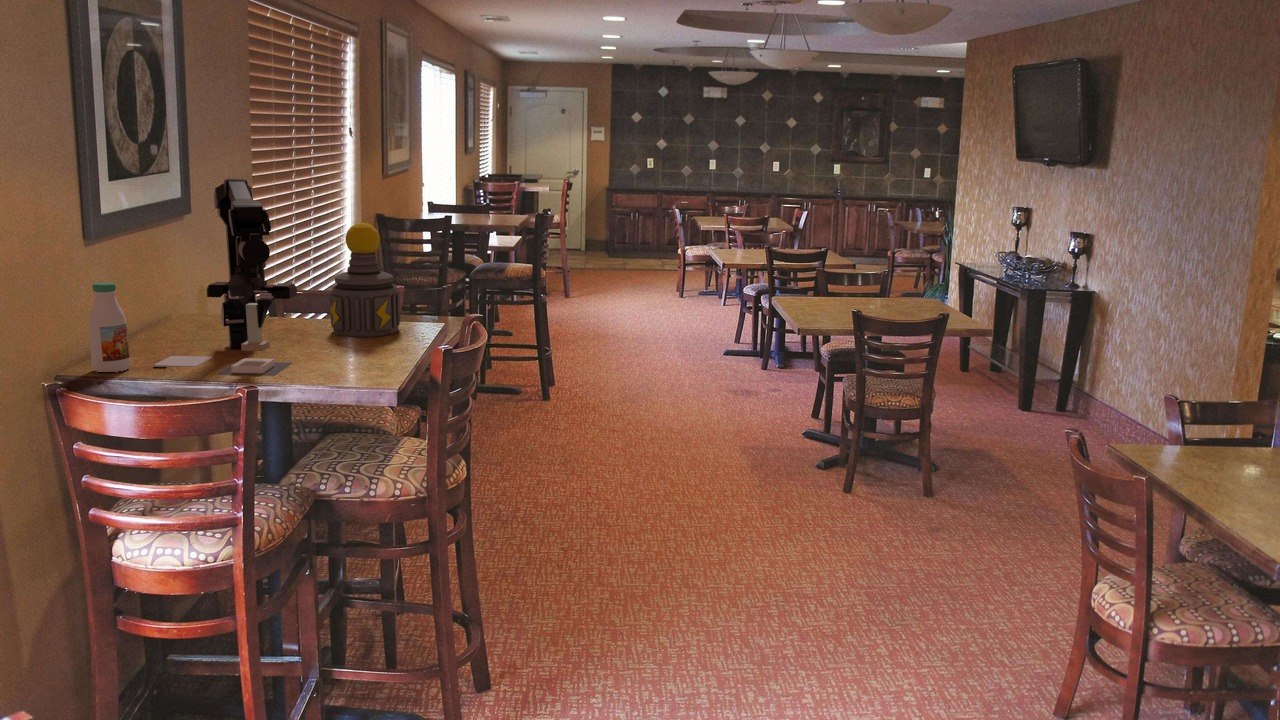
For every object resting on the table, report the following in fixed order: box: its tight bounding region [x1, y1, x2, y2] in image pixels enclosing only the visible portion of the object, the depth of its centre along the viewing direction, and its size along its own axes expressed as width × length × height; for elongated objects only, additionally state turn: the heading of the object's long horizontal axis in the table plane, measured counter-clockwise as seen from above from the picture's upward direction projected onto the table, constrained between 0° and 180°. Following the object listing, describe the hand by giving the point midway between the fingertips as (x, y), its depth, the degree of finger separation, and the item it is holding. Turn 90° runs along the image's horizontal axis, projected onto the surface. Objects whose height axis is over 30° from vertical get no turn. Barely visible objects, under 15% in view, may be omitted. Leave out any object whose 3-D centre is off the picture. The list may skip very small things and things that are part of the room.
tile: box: [230, 357, 276, 374], centre depth 237 cm, size 2×7×8 cm
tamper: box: [240, 303, 271, 352], centre depth 237 cm, size 4×5×10 cm
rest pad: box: [152, 355, 214, 368], centre depth 244 cm, size 10×10×1 cm
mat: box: [217, 360, 293, 377], centre depth 239 cm, size 13×13×1 cm
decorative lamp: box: [329, 222, 401, 338], centre depth 283 cm, size 19×19×30 cm
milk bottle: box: [88, 281, 131, 373], centre depth 234 cm, size 8×8×20 cm
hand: (254, 327), depth 237 cm, fingers closed on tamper, 2 cm apart
